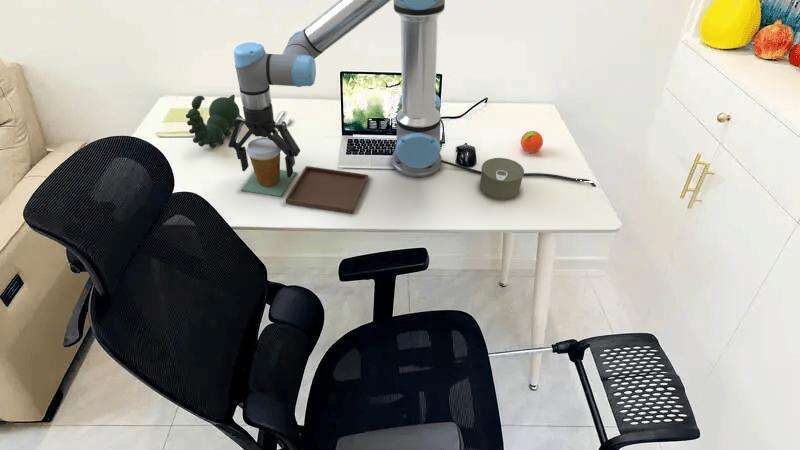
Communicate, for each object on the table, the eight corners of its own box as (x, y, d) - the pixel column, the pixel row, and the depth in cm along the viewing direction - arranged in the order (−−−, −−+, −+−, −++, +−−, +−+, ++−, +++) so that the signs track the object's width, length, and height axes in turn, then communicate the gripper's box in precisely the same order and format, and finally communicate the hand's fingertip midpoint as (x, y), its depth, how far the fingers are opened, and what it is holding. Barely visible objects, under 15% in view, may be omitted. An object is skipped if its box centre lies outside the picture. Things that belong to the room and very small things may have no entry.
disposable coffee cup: (250, 174, 159) (244, 138, 151) (283, 169, 161) (278, 134, 153) (253, 192, 152) (247, 156, 144) (287, 187, 154) (283, 151, 147)
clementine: (527, 160, 170) (532, 140, 165) (512, 150, 174) (515, 131, 170) (545, 152, 174) (549, 133, 169) (529, 143, 178) (533, 124, 173)
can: (522, 181, 161) (526, 161, 156) (517, 204, 152) (521, 184, 148) (482, 173, 163) (485, 154, 159) (475, 196, 154) (478, 176, 150)
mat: (296, 173, 161) (295, 172, 160) (281, 197, 151) (280, 195, 151) (258, 168, 162) (257, 166, 162) (241, 191, 153) (240, 189, 153)
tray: (368, 178, 160) (368, 174, 159) (352, 214, 147) (352, 209, 146) (306, 170, 162) (306, 165, 161) (285, 203, 149) (285, 199, 148)
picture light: (282, 112, 189) (281, 106, 188) (294, 113, 189) (294, 108, 188) (270, 132, 179) (269, 126, 177) (282, 133, 178) (282, 127, 177)
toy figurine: (217, 161, 167) (251, 117, 184) (202, 109, 154) (240, 67, 171) (190, 157, 169) (226, 114, 186) (172, 104, 155) (213, 63, 173)
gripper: (307, 103, 142) (313, 170, 156) (219, 92, 145) (232, 158, 159) (297, 116, 136) (304, 185, 150) (206, 105, 140) (221, 172, 153)
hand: (267, 171), depth 154 cm, fingers open, 13 cm apart
